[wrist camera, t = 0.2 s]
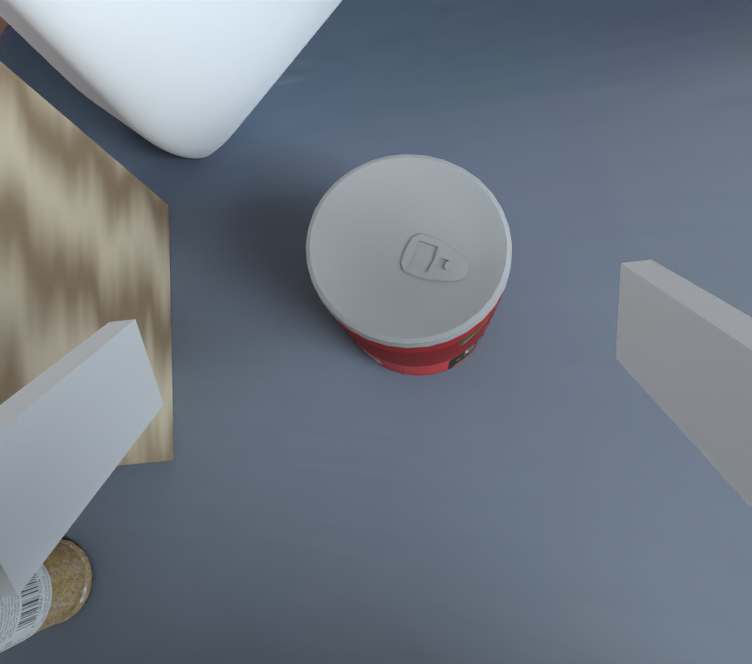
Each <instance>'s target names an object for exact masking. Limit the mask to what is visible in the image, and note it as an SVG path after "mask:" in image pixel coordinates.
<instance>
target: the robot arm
mask: <svg viewBox="0 0 752 664" xmlns="http://www.w3.org/2000/svg"><path fill="white" fill-rule="evenodd" d="M616 359H617V360H618V361H619V362H620V364H621V365H622V366H623V367H624V368H625V369H626V370H627V371H628V372H629V373H630V375H631V376H632V377H633V378H634V379H635V380H636V381H637V382H638V383H639V384H640V386H641V387H642V388H643V389H644V390H645V391H646V392H647V393H648V394H649V395H650V397H651V398H652V399H653V400H654V401H655V402H656V403H657V404H658V405H659V407H660V408H661V409H662V410H663V411H664V412H665V413H666V414H667V415H668V416H669V418H670V419H671V420H672V421H673V422H674V423H675V424H676V425H677V426H678V427H679V429H680V430H681V431H682V432H683V433H684V434H685V435H686V436H687V437H688V438H689V440H690V441H691V442H692V443H693V444H694V445H695V446H696V447H697V448H698V449H699V451H700V452H701V453H702V454H703V455H704V456H705V457H706V458H707V459H708V460H709V462H710V463H711V464H712V465H713V466H714V467H715V468H716V469H717V470H718V472H719V473H720V474H721V475H722V476H723V477H724V478H725V479H726V480H727V481H728V483H729V484H730V485H731V486H732V487H733V488H734V489H735V490H736V491H737V492H738V494H739V495H740V496H741V497H742V498H743V499H744V500H745V501H746V502H747V503H748V505H749V506H750V507H751V508H752V317H750V316H748V315H747V314H745V313H743V312H741V311H740V310H738V309H736V308H734V307H733V306H731V305H729V304H727V303H726V302H724V301H722V300H721V299H719V298H717V297H715V296H714V295H712V294H710V293H708V292H707V291H705V290H703V289H701V288H700V287H698V286H696V285H694V284H693V283H691V282H689V281H688V280H686V279H684V278H682V277H681V276H679V275H677V274H675V273H674V272H672V271H670V270H668V269H667V268H665V267H663V266H661V265H660V264H658V263H656V262H655V261H653V260H645V261H636V262H628V263H621V274H620V292H619V310H618V328H617V346H616ZM163 405H164V404H163V401H162V398H161V395H160V392H159V389H158V386H157V383H156V380H155V377H154V374H153V371H152V368H151V365H150V362H149V359H148V356H147V353H146V350H145V347H144V344H143V341H142V337H141V334H140V331H139V328H138V325H137V322H136V319H132V320H123V321H114V322H109V323H107V324H106V325H105V326H103V327H102V328H101V329H99V330H98V331H97V332H95V333H94V334H93V335H91V336H90V337H89V338H87V339H86V340H85V341H84V342H82V343H81V344H80V345H78V346H77V347H76V348H74V349H73V350H72V351H70V352H69V353H68V354H66V355H65V356H64V357H63V358H61V359H60V360H59V361H57V362H56V363H55V364H53V365H52V366H51V367H49V368H48V369H47V370H45V371H44V372H43V373H42V374H40V375H39V376H38V377H36V378H35V379H34V380H32V381H31V382H30V383H28V384H27V385H26V386H24V387H23V388H22V389H20V390H19V391H18V392H17V393H15V394H14V395H13V396H11V397H10V398H9V399H7V400H6V401H5V402H3V403H2V404H1V405H0V597H7V596H18V595H19V594H20V593H21V591H22V590H23V589H24V587H25V586H26V585H27V583H28V582H29V581H30V579H31V578H32V577H33V575H34V574H35V573H36V572H37V570H38V569H39V568H40V566H41V565H42V564H43V562H44V561H45V560H46V558H47V557H48V556H49V555H50V553H51V552H52V551H53V549H54V548H55V547H56V545H57V544H58V543H59V541H60V540H61V539H62V537H63V536H64V535H65V534H66V532H67V531H68V530H69V528H70V527H71V526H72V524H73V523H74V522H75V520H76V519H77V518H78V516H79V515H80V514H81V513H82V511H83V510H84V509H85V507H86V506H87V505H88V503H89V502H90V501H91V499H92V498H93V497H94V495H95V494H96V493H97V492H98V490H99V489H100V488H101V486H102V485H103V484H104V482H105V481H106V480H107V478H108V477H109V476H110V474H111V473H112V472H113V471H114V469H115V468H116V467H117V465H118V464H119V463H120V461H121V460H122V459H123V457H124V456H125V455H126V454H127V452H128V451H129V450H130V448H131V447H132V446H133V444H134V443H135V442H136V440H137V439H138V438H139V436H140V435H141V434H142V433H143V431H144V430H145V429H146V427H147V426H148V425H149V423H150V422H151V421H152V419H153V418H154V417H155V415H156V414H157V413H158V412H159V410H160V409H161V408H162V406H163Z"/></svg>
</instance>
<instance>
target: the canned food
mask: <svg viewBox="0 0 752 664" xmlns="http://www.w3.org/2000/svg"><path fill="white" fill-rule="evenodd" d="M511 253H512V243H511V236H510V230H509V225H508V223H507V220H506V217H505V215H504V212H503V210H502V208H501V206H500V205H499V203H498V202H497V200H496V199H495V197H494V195H493V194H492V193H491V192H490V191H489V190H488V188H487V187H486V186H485V185H484V184H483V183H482V182H481V181H480V180H479V179H477V178H476V177H475V176H473V175H472V174H470V173H469V172H467V171H466V170H464V169H463V168H461V167H459V166H457V165H454V164H452V163H450V162H448V161H445V160H442V159H438V158H434V157H430V156H425V155H410V154H404V155H395V156H386V157H383V158H379V159H376V160H373V161H369V162H367V163H365V164H363V165H361V166H359V167H357V168H355V169H353V170H351V171H350V172H348V173H347V174H346V175H344V176H343V177H342V178H340V179H339V180H338V181H336V182H335V183H334V185H333V186H332V187H331V188H330V189H329V190H328V191H327V192H326V193H325V194H324V196H323V197H322V199H321V201H320V202H319V204H318V206H317V207H316V209H315V210H314V213H313V216H312V219H311V221H310V224H309V227H308V233H307V240H306V257H307V266H308V269H309V273H310V276H311V280H312V283H313V285H314V288H315V289H316V291H317V293H318V295H319V297H320V299H321V301H322V303H323V304H324V305H325V306H326V308H327V309H328V311H329V312H330V313H331V314H332V315H333V317H334V318H335V319H336V320H337V322H338V323H339V324H340V325H341V326H342V327H343V328H344V329H345V331H346V332H347V333H348V334H349V335H350V336H351V337H352V338H353V339H354V340H355V342H356V343H357V344H358V345H359V346H360V347H361V348H362V349H363V350H364V351H365V352H366V354H367V355H369V356H370V357H371V358H372V359H373V360H375V361H376V362H377V363H379V364H380V365H382V366H384V367H386V368H388V369H390V370H393V371H396V372H399V373H402V374H408V375H416V376H419V375H432V374H436V373H440V372H443V371H446V370H448V369H450V368H452V367H454V366H456V365H458V364H459V363H461V362H462V361H463V360H464V359H466V358H467V357H468V356H469V355H470V354H471V353H472V352H473V350H474V349H475V348H476V347H477V345H478V344H479V342H480V340H481V338H482V336H483V334H484V332H485V330H486V328H487V326H488V324H489V322H490V320H491V318H492V316H493V314H494V311H495V309H496V307H497V305H498V303H499V301H500V299H501V297H502V294H503V291H504V289H505V286H506V283H507V279H508V276H509V273H510V268H511Z"/></svg>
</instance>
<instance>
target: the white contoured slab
mask: <svg viewBox="0 0 752 664" xmlns="http://www.w3.org/2000/svg"><path fill="white" fill-rule="evenodd" d="M341 1H342V0H0V16H1V17H2V18H3V19H4V20H5V21H6V22H7V23H8V24H9V25H10V26H11V27H12V28H13V29H15V30H16V31H17V32H18V33H19V34H20V35H21V36H22V37H23V38H24V39H25V40H26V41H27V42H28V43H29V44H30V45H31V46H32V47H33V48H34V49H35V50H36V51H37V52H39V53H40V54H41V55H42V56H43V57H44V58H45V59H46V60H47V61H48V62H49V63H50V64H51V65H52V66H53V67H54V68H55V69H56V70H57V71H58V72H59V73H60V74H61V75H62V76H64V77H65V78H66V79H67V80H68V81H69V82H70V83H71V84H72V85H73V86H74V87H75V88H77V89H78V90H79V91H80V92H81V93H82V94H84V95H85V96H86V97H87V98H89V99H90V100H91V101H93V102H94V103H96V104H97V105H98V106H100V107H101V108H103V109H104V110H105V111H107V112H108V113H110V114H111V115H113V116H114V117H115V118H117V119H118V120H120V121H121V122H122V123H124V124H125V125H127V126H128V127H129V128H131V129H132V130H134V131H135V132H136V133H138V134H139V135H141V136H142V137H144V138H145V139H146V140H148V141H149V142H151V143H152V144H154V145H156V146H157V147H159V148H161V149H163V150H165V151H167V152H169V153H171V154H174V155H177V156H181V157H186V158H195V159H197V158H204V157H207V156H209V155H210V154H212V153H213V152H215V151H216V150H217V149H219V148H220V147H221V146H222V145H223V144H224V143H225V142H226V141H227V140H228V139H229V138H230V137H231V136H232V134H233V133H234V132H235V131H236V130H237V129H238V127H239V126H240V125H241V124H242V122H243V121H244V120H245V119H246V117H247V116H248V115H249V114H250V113H251V111H252V110H253V109H254V108H255V106H256V105H257V104H258V103H259V102H260V100H261V99H262V98H263V97H264V95H265V94H266V93H267V92H268V91H269V89H270V88H271V87H272V86H273V84H274V83H275V82H276V81H277V79H278V78H279V77H280V76H281V75H282V73H283V72H284V71H285V70H286V68H287V67H288V66H289V65H290V64H291V62H292V61H293V60H294V59H295V57H296V56H297V55H298V54H299V53H300V51H301V50H302V49H303V48H304V46H305V45H306V44H307V43H308V41H309V40H310V39H311V38H312V37H313V35H314V34H315V33H316V32H317V30H318V29H319V28H320V27H321V26H322V24H323V23H324V22H325V21H326V19H327V18H328V17H329V16H330V15H331V13H332V12H333V11H334V10H335V8H336V7H337V6H338V5H339V3H340V2H341Z"/></svg>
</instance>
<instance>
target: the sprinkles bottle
mask: <svg viewBox="0 0 752 664" xmlns="http://www.w3.org/2000/svg"><path fill="white" fill-rule="evenodd" d="M91 584H92V570H91V566H90V562H89V559H88V557H87V555H86V554H85V552H84V551H83V550H82V549H81V548H80V547H79V546H77V545H76V544H75V543H73V542H72V541H69V540H64V539H61V540H60V541H59V543H58V544H57V545H56V547H55V548H54V549H53V551H52V552H51V553H50V555H49V556H48V557H47V558H46V560H45V561H44V562H43V564H42V565H41V566H40V568H39V569H38V570H37V572H36V573H35V574H34V575H33V577H32V578H31V579H30V581H29V582H28V583H27V585H26V586H25V587H24V589H23V590H22V591H21V593H20V594H19V595H18V596H7V597H0V653H1V652H3V651H5V650H7V649H9V648H11V647H13V646H15V645H17V644H19V643H21V642H22V641H24V640H26V639H28V638H29V637H30V636H32V635H34V634H36V633H37V632H39V631H41V630H43V629H46V628H48V627H50V626H52V625H55V624H60V623H62V622H64V621H67V620H69V619H70V618H71V617H72V616H74V615H75V614H76V613H77V612H78V611H79V610H80V609H81V608H82V606H83V605H84V603H85V601H86V600H87V598H88V596H89V594H90V589H91Z"/></svg>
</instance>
